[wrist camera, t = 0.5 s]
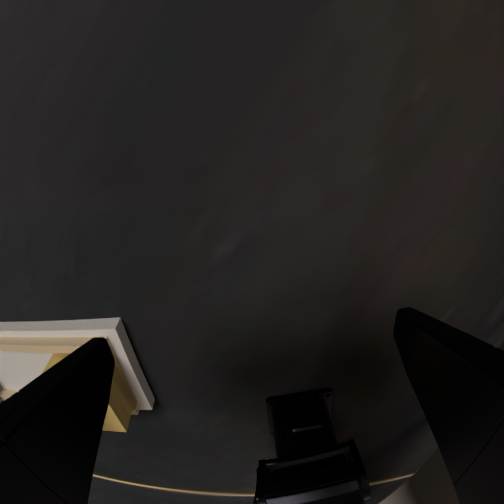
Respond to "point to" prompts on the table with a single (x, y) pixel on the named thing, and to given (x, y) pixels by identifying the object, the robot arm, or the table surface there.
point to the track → (65, 341)
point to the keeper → (111, 397)
